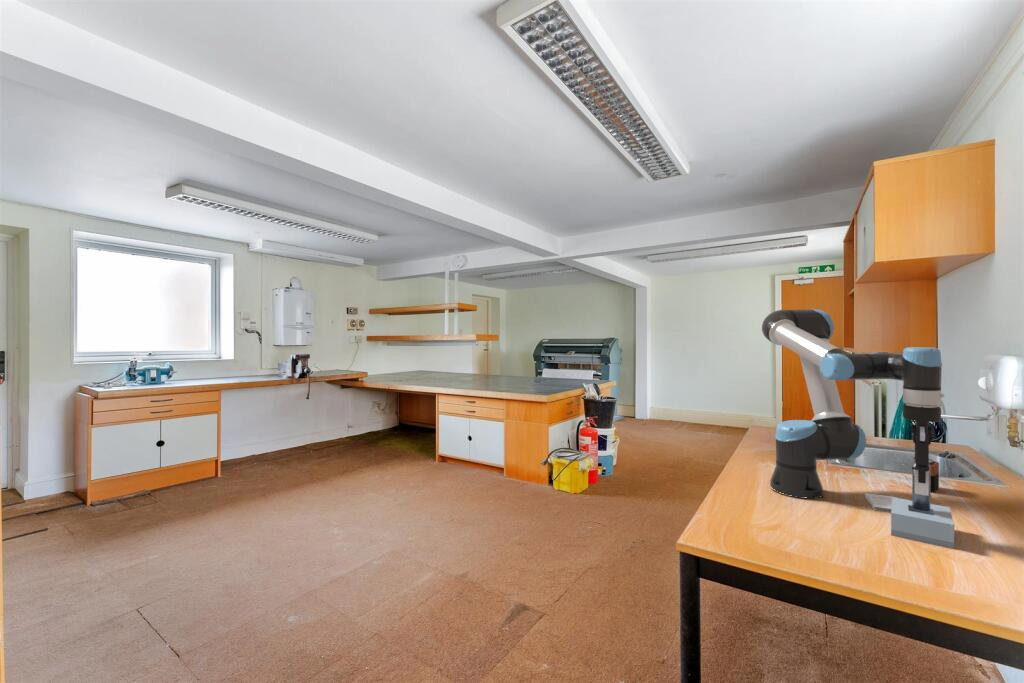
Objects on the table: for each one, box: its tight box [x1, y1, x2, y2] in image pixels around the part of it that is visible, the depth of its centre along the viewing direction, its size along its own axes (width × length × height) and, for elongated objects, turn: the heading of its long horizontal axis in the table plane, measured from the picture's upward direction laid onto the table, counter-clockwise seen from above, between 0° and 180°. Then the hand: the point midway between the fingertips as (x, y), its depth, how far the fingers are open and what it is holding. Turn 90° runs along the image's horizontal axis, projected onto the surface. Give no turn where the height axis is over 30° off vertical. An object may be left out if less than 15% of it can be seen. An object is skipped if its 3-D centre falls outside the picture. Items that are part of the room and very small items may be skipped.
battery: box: [929, 458, 940, 493], centre depth 152 cm, size 4×7×10 cm, turn 127°
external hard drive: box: [864, 492, 898, 513], centre depth 140 cm, size 2×8×12 cm
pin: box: [911, 461, 931, 511], centre depth 121 cm, size 4×4×12 cm
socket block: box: [890, 496, 955, 549], centre depth 122 cm, size 12×14×6 cm
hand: (921, 491), depth 121 cm, fingers closed on pin, 3 cm apart
